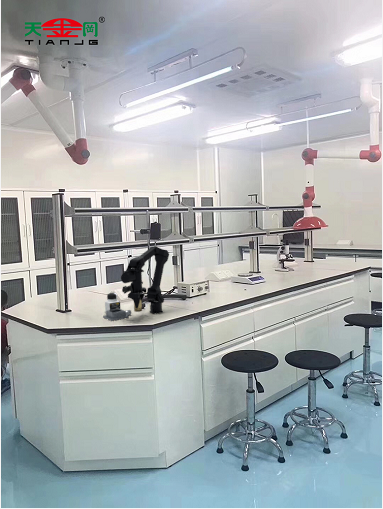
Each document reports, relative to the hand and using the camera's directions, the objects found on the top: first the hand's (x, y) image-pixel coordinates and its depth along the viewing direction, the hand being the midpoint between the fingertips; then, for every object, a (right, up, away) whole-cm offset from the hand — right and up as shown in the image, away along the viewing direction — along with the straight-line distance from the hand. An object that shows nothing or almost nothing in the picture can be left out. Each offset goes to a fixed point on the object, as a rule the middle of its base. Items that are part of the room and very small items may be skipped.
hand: (138, 307), depth 234 cm
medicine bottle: (-18, -6, +18) cm, 26 cm away
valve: (0, -2, 0) cm, 2 cm away
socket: (-12, -7, +5) cm, 15 cm away
